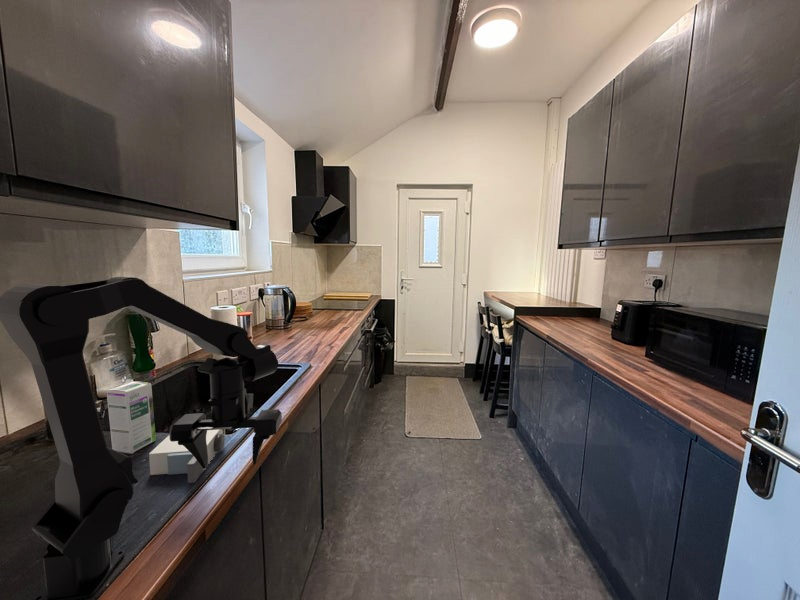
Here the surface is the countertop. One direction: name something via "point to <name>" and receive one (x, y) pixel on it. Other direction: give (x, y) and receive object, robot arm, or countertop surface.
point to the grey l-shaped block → (184, 465)
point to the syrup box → (131, 416)
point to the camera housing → (182, 451)
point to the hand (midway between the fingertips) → (230, 465)
